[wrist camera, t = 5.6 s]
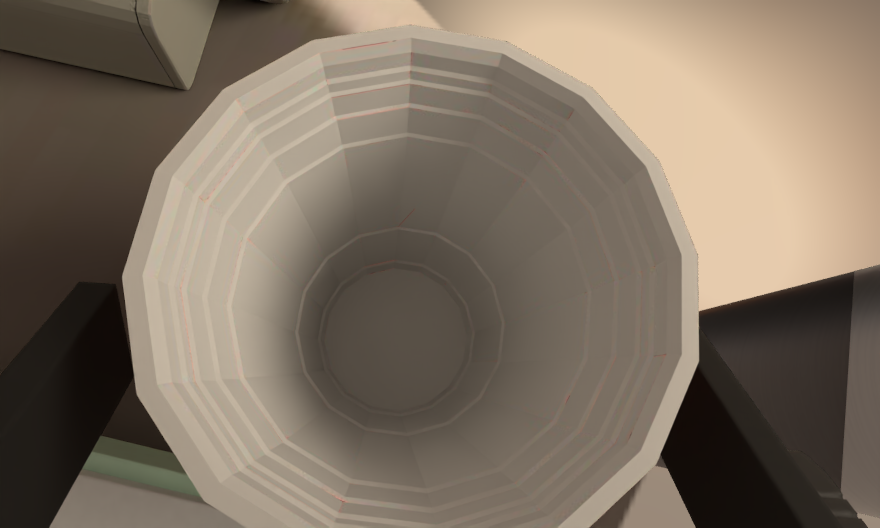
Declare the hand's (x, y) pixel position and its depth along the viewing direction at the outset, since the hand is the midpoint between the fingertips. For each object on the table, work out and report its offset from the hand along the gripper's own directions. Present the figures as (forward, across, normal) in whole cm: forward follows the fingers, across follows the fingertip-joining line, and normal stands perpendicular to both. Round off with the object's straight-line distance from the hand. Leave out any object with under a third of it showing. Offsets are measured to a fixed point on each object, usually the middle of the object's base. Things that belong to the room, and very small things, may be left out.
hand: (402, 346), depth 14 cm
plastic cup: (+7, 0, -5) cm, 8 cm away
